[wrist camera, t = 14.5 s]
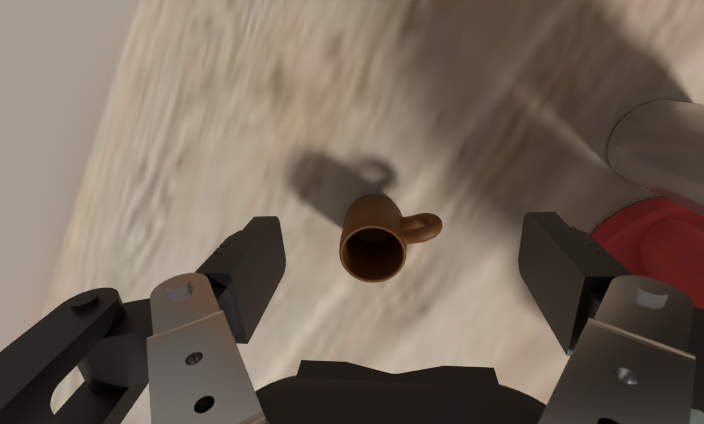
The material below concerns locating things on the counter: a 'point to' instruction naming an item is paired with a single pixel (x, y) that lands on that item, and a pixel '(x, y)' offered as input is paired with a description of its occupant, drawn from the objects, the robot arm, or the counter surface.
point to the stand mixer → (660, 248)
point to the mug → (381, 237)
